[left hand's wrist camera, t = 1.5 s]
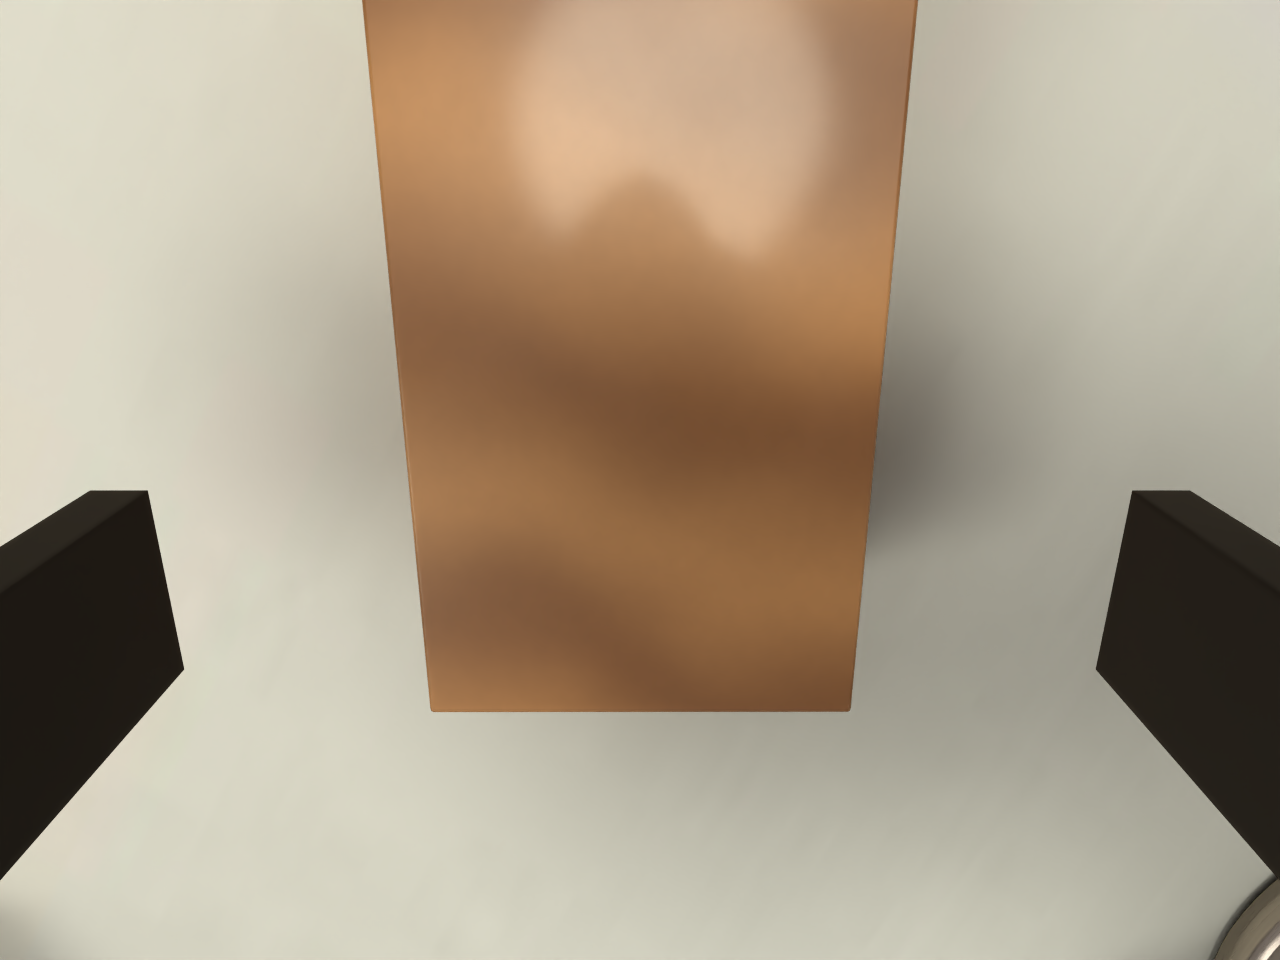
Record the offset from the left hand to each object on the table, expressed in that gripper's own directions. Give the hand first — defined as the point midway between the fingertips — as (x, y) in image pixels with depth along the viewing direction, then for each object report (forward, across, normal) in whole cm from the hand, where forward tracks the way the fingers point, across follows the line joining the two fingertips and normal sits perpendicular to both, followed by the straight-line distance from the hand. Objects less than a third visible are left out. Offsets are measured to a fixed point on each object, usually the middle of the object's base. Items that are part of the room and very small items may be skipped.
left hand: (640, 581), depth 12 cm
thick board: (+15, 0, -34) cm, 37 cm away
